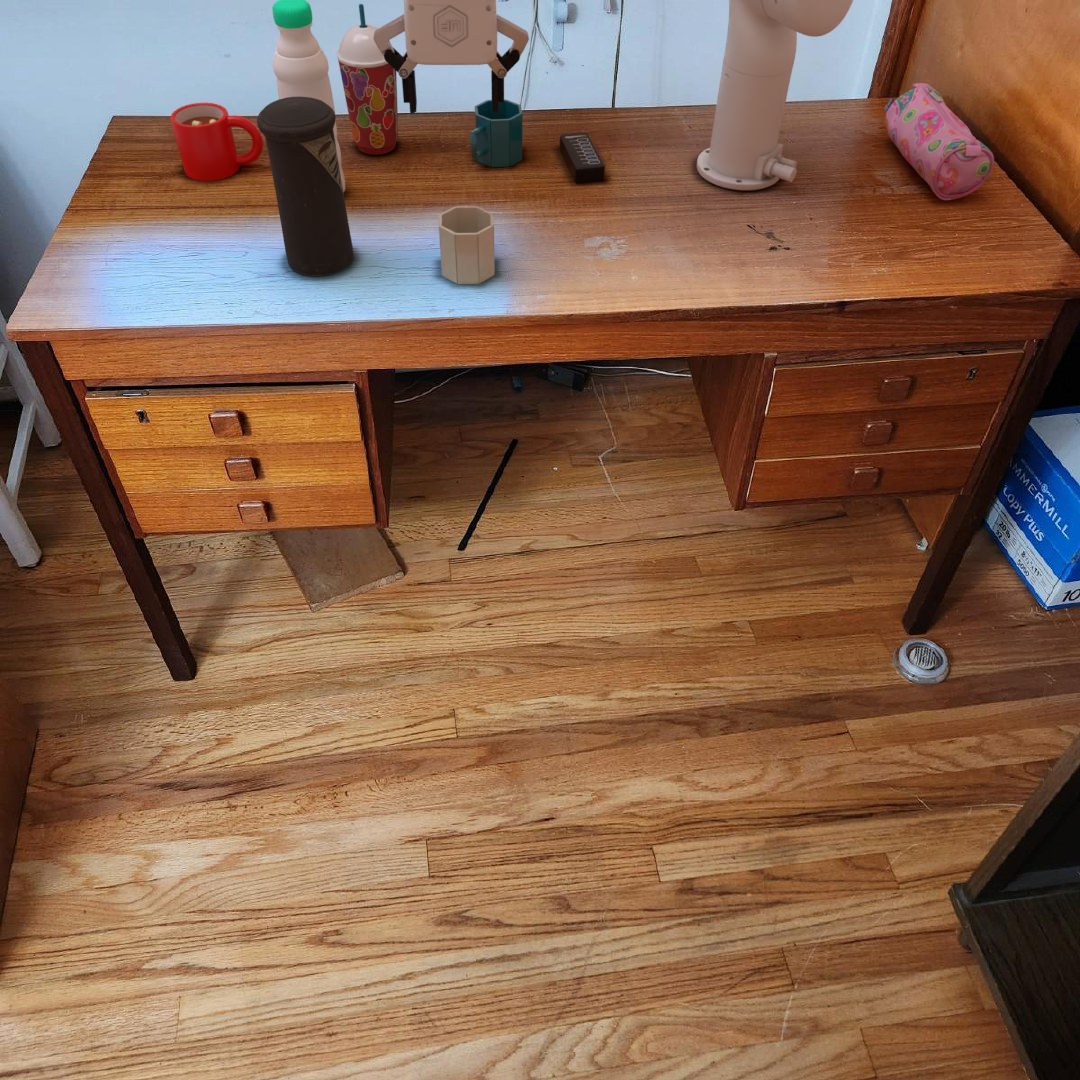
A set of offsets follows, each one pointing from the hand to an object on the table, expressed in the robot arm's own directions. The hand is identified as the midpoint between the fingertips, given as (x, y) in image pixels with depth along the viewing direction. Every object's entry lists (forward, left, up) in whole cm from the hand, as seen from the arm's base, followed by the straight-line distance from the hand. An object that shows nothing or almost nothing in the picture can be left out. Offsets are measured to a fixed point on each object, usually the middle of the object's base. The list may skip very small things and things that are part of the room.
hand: (454, 108), depth 113 cm
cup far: (+13, -22, -19) cm, 32 cm away
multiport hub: (+2, -29, -19) cm, 35 cm away
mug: (+41, +6, -19) cm, 46 cm away
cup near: (-3, +2, -19) cm, 19 cm away
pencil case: (-38, -63, -19) cm, 76 cm away
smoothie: (+29, -13, -19) cm, 37 cm away
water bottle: (+25, +2, -19) cm, 32 cm away
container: (+12, +14, -19) cm, 27 cm away
